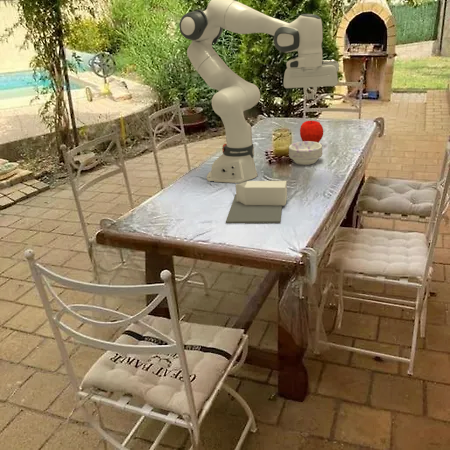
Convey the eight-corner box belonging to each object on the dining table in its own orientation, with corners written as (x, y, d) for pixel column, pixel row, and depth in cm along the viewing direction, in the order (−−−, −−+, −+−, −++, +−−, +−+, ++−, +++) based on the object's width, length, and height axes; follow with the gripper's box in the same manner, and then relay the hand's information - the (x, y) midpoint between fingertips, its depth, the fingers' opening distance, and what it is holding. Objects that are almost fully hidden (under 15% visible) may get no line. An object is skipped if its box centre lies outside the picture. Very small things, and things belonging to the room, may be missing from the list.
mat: (225, 223, 168) (225, 221, 167) (235, 196, 191) (235, 194, 191) (280, 223, 165) (280, 221, 164) (283, 195, 188) (283, 193, 187)
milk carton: (285, 187, 173) (233, 187, 177) (285, 205, 176) (235, 205, 180) (287, 180, 179) (237, 180, 184) (287, 198, 182) (238, 198, 187)
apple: (328, 146, 244) (328, 120, 238) (311, 151, 238) (311, 124, 233) (311, 142, 253) (311, 117, 247) (295, 147, 247) (294, 121, 242)
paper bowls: (300, 169, 215) (300, 152, 212) (283, 161, 228) (282, 144, 224) (328, 162, 220) (329, 146, 217) (310, 155, 233) (310, 139, 229)
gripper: (338, 58, 180) (337, 96, 185) (283, 61, 183) (284, 98, 189) (339, 60, 174) (338, 99, 180) (282, 63, 177) (283, 101, 183)
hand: (310, 98), depth 184 cm, fingers closed
